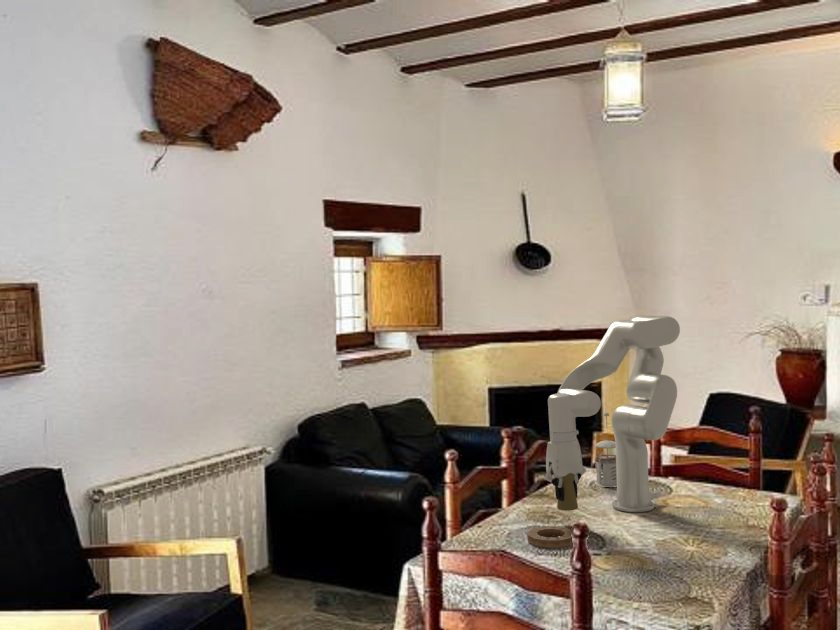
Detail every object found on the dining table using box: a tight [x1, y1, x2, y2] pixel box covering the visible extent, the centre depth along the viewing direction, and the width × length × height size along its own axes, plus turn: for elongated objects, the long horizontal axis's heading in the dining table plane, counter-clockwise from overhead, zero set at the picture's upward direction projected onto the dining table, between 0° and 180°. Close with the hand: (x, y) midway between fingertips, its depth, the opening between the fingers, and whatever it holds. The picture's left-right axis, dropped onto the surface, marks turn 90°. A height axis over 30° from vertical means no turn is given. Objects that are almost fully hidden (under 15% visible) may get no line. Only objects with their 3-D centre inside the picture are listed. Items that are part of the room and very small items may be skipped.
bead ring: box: [526, 525, 573, 549], centre depth 225 cm, size 13×13×2 cm
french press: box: [594, 412, 617, 487], centre depth 282 cm, size 10×12×25 cm
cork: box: [556, 473, 579, 512], centre depth 239 cm, size 6×6×11 cm
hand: (566, 497), depth 239 cm, fingers closed on cork, 4 cm apart
